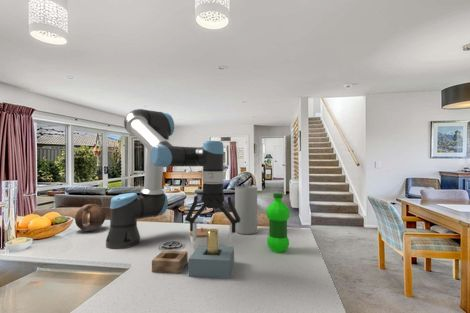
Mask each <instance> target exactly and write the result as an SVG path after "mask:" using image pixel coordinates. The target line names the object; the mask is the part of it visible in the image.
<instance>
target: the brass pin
mask: <svg viewBox="0 0 470 313" xmlns="http://www.w3.org/2000/svg"><path fill="white" fill-rule="evenodd" d="M207 229H208V230H207V255H218V246H219V229H217V228H207Z"/></svg>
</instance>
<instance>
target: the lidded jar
mask: <svg viewBox="0 0 470 313" xmlns="http://www.w3.org/2000/svg"><path fill="white" fill-rule="evenodd" d="M208 229H209V228H204V227H200V228H197V239H196V240H195V241H193V231H190V230H189V239H190V244H191V247H192V248H193V249H194V251H195V250H196V248H197V247H198V246H199V245H207V230H208Z"/></svg>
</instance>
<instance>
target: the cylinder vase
mask: <svg viewBox="0 0 470 313" xmlns="http://www.w3.org/2000/svg"><path fill="white" fill-rule="evenodd" d="M234 207H235V209H236V211H237V213H238V215H239V217H240V219H241V220H240V222H239V223H236V231H235V233H237V234H240V235H254V234H257V232H258V187H257V186H253V185H239V186H235V187H234Z"/></svg>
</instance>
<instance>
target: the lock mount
mask: <svg viewBox="0 0 470 313" xmlns="http://www.w3.org/2000/svg"><path fill="white" fill-rule="evenodd" d="M188 255H189V254H188V251H184V250H183V251H181V250H162V251H161V252H159V254H158V255H156V256H155V257H154V258H153V259H152V260H151V272H152V273H167V274H170V273H171V274H180V273H181V271H182V270H183V269H184V268H185V266H186V265H187V264H188V263H189V257H188Z"/></svg>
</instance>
